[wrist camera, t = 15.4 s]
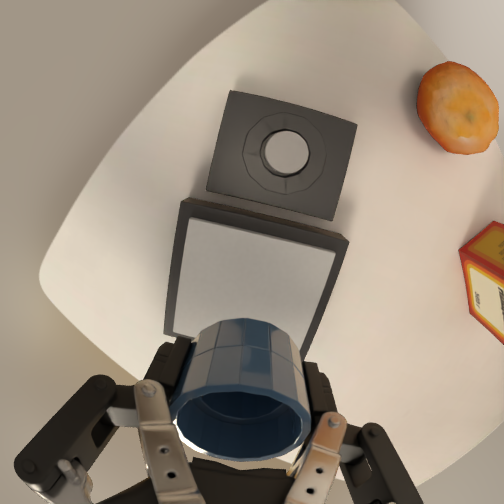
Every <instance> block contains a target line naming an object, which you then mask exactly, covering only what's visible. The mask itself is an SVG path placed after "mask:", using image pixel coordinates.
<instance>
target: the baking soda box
mask: <svg viewBox="0 0 504 504" xmlns="http://www.w3.org/2000/svg"><path fill="white" fill-rule="evenodd" d="M459 254H460V259H461V263H462V268H463V273H464V278H465V284H466V290H467V296H468V303H469V311H470V314H471V315H472V316H473V317H474V318H476V319H477V320H478V321H479V322H480V323H481V324H482V325H483V326H484V327H485V328H486V329H488V330H489V331H490V332H491V333H492V334H493V335H494V336H495V337H496V338H497V339H498V340H499V341H500V342H501V343H502V344H503V345H504V225H503V224H501V223H498V222H496V221H493V222H491V223H490V224H489V225H488V226H487V227H486V228H485V229H484V230H482V231H481V232H480V233H479V234H478V235H477V236H475V237H474V238H473V239H472V240H471V241H469V242H468V243H467V244H466V245H464V246H463V247H462V248H461V249H459Z"/></svg>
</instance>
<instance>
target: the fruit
mask: <svg viewBox="0 0 504 504" xmlns="http://www.w3.org/2000/svg"><path fill="white" fill-rule="evenodd" d="M498 112H499V106H498V101H497V99H496V97H495V95H494V94H493V92H492V91H491V89H490V88H489V86H488V85H487V84H486V82H485V81H484V80H483V79H482V78H481V77H479V76H478V75H477V74H476V73H475V72H474V71H472V70H471V69H470V68H468V67H466V66H464V65H461V64H458V63H455V62H451V61H447V62H445V63H442V64H439V65H437V66H435V67H433V68H432V69H430V70H429V71H428V72H427V73H426V74H425V75H424V76H423V78H422V80H421V83H420V86H419V90H418V96H417V113H418V116H419V118H420V120H421V121H422V123H423V125H424V126H425V128H426V130H427V131H428V132H429V133H430V135H431V136H432V137H433V138H434V139H435V140H436V141H437V142H438V143H439V144H440V145H441V146H442V147H443V148H444V149H445V150H446V151H447V152H451V153H454V154H464V155H469V154H475V153H480V152H484V151H485V150H486V149H487V148H488V147H489V145H490V143H491V141H492V140H493V139H495V137H496V136H497V133H498V129H499V125H498V121H499V117H498V115H499V113H498Z"/></svg>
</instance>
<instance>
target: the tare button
mask: <svg viewBox="0 0 504 504" xmlns="http://www.w3.org/2000/svg"><path fill="white" fill-rule="evenodd" d="M308 154H309V151H308V146H307V144H306V142H305V140H304V139H303V138H302V137H301V136H300V135H298V134H296V133H294V132H291V131H282V132H278V133H276V134H274V135H273V136H272V137H271V138H270V139H269V140H268V142H267V144H266V147H265V158H266V161H267V163H268V164H269V166H270V167H271V168H273V169H274V170H276V171H278V172H281V173H294V172H296V171H298V170H300V169H301V168H302V167H303V166H304V165H305V164H306V162H307V159H308Z"/></svg>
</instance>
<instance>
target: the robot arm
mask: <svg viewBox="0 0 504 504" xmlns="http://www.w3.org/2000/svg"><path fill="white" fill-rule="evenodd" d="M191 342H192V339H191V338H187V337H183V336H180V335H178V336H177V338H176V341H175V343H174V344H173V343H169V342H165V343H164V344H162V345H161V346H160V347H159V349H158V351H157V353H156V355H155V357H154V359H153V361H152V363H151V365H150V367H149V369H148V371H147V373H146V375H145V377H144V379H143V380H141V381H139V382H137V383H136V384H135V385H132V386H125V385H116V383H115V382H114V380H113V379H112V378H110V377H109V376H106V375H95V376H92V377H91V378H89V379H88V380H87V382H86V383H85V384H84V385H83V386H82V387H81V388H80V389H79V390H78V391H77V392H76V393H75V394H74V395H73V396H72V397H71V398H70V399H69V400H68V401H67V402H66V403H65V405H64V406H63V407H62V408H61V409H60V410H59V411H58V412H57V413H56V414H55V415H54V416H53V417H52V418H51V419H50V420H49V421H48V423H47V424H46V425H45V426H44V427H43V428H42V429H41V430H40V431H39V432H38V433H37V434H36V436H35V437H34V438H33V439H32V440H31V441H30V442H29V443H28V444H27V445H26V447H24V449H23V450H22V451H21V452H20V453H19V454H18V455H17V457H16V458H15V461H14V469H15V472H16V473H17V475H18V476H19V477H20V478H21V479H22V480H23V481H24V482H25V483H26V485H27V486H28V487H29V488H30V489H31V490H32V491H34V492H35V493H36V494H37V495H38V496H39V497H41V498H43V499H44V500H45V501H47V502H48V503H50V504H93V503H92V501H91V498H90V493H91V491H92V488H93V483H92V480H91V478H90V477H89V475H88V473H87V471H88V470H89V469H90V468H91V466H92V465H93V463H94V462H95V460H96V459H97V458H98V456H99V454H100V453H101V452H102V451H103V449H104V448H105V446H106V445H107V444H108V442H109V441H110V439H111V438H112V436H113V435H114V434H115V432H116V431H117V429H118V428H119V427H120V426H124V427H136V428H138V432H139V438H140V443H141V448H142V453H143V458H144V463H145V467H146V471H147V476H148V478H146V479H145V480H143V481H141V482H139V483H137V484H136V485H134V486H132V487H130V488H128V489H126V490H124V491H122V492H120V493H118V494H116V495H114V496H112V497H110V498H107V499H105V500H103V501H101V502H99V503H97V504H325V502H326V500H327V497H328V495H329V492H330V489H331V487H332V484H333V481H334V479H335V476H336V473H337V470H338V467H339V466H340V469H341V471H342V474H343V476H344V479H345V481H346V484H347V487H348V489H349V492H350V494H351V497H352V500H353V502H354V504H423V501H422V499H421V497H420V495H419V493H418V491H417V489H416V487H415V486H414V484H413V482H412V480H411V478H410V476H409V474H408V472H407V470H406V469H405V467H404V465H403V463H402V461H401V459H400V457H399V456H398V454H397V452H396V450H395V448H394V446H393V445H392V443H391V441H390V439H389V437H388V435H387V434H386V432H385V430H384V429H383V427H381V426H380V425H379V424H376V423H367V424H365V425H364V426H363V427H362V428H361V427H357V426H354V425H350V424H348V423H347V421H346V419H345V417H344V416H342V415H341V414H339V413H338V412H337V408H336V404H335V400H334V397H333V394H332V389H331V386H330V382H329V379H328V378H327V377H326V375H325V374H324V373H320V372H319V370H318V366H317V363H313V362H306V361H302V369H303V374H304V380H305V385H306V391H307V397H308V402H309V408H310V414H311V432H310V433H309V435H308V436H307V438H306V439H305V440H304V442H303V444H302V445H301V447H300V449H299V451H298V453H297V455H296V457H295V459H294V461H293V463H292V465H291V467H290V469H289V471H288V472H287V474H286V469H270V468H261V469H250V470H238V469H235V468H232V467H229V466H227V465H224V464H221V463H219V462H215V461H210V460H205V459H200V458H196V457H193V461H192V462H188V460H187V457H186V455H185V452H184V448H183V445H182V443H181V439H180V436H179V433H178V429H177V426H176V424H173V421H172V418H171V414H170V410H169V405H170V402H171V399H172V396H173V394H174V391H175V388H176V385H177V382H178V379H179V377H180V374H181V371H182V368H183V365H184V363H185V360H186V357H187V354H188V351H189V348H190V346H191ZM366 459H367V460H366ZM367 461H368V462H367ZM368 463H369V465H370V467H369V465H368ZM370 468H371V469H370ZM371 470H372V471H371Z"/></svg>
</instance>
